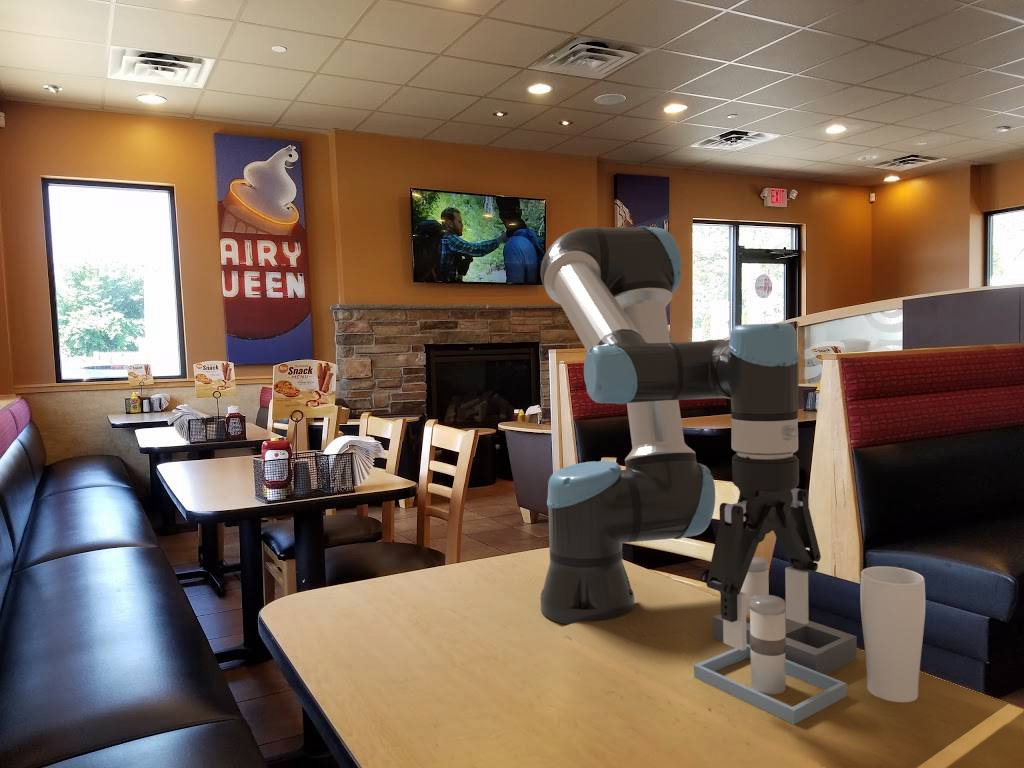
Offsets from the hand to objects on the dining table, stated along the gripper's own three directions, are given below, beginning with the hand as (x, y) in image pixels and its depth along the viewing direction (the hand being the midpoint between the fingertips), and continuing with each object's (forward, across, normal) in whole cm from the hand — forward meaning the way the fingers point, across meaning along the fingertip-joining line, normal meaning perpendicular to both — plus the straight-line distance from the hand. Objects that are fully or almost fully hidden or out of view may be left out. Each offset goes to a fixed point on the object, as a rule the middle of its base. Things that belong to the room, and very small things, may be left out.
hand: (767, 633), depth 88 cm
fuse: (+7, +10, +10) cm, 16 cm away
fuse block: (+8, +10, +6) cm, 14 cm away
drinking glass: (+8, +10, -10) cm, 16 cm away
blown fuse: (+7, 0, 0) cm, 7 cm away
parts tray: (+8, 0, 0) cm, 8 cm away
